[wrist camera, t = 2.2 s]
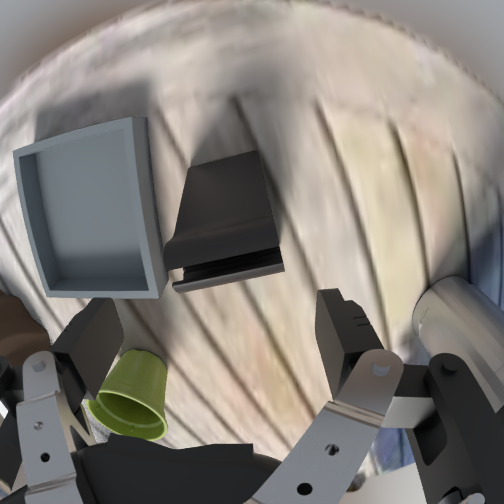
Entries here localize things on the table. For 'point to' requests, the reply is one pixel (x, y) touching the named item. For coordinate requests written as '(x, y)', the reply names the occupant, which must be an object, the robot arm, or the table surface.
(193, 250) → the phone stand
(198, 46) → the table surface
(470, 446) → the robot arm
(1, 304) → the decorative dome
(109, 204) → the tray
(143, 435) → the plant pot
